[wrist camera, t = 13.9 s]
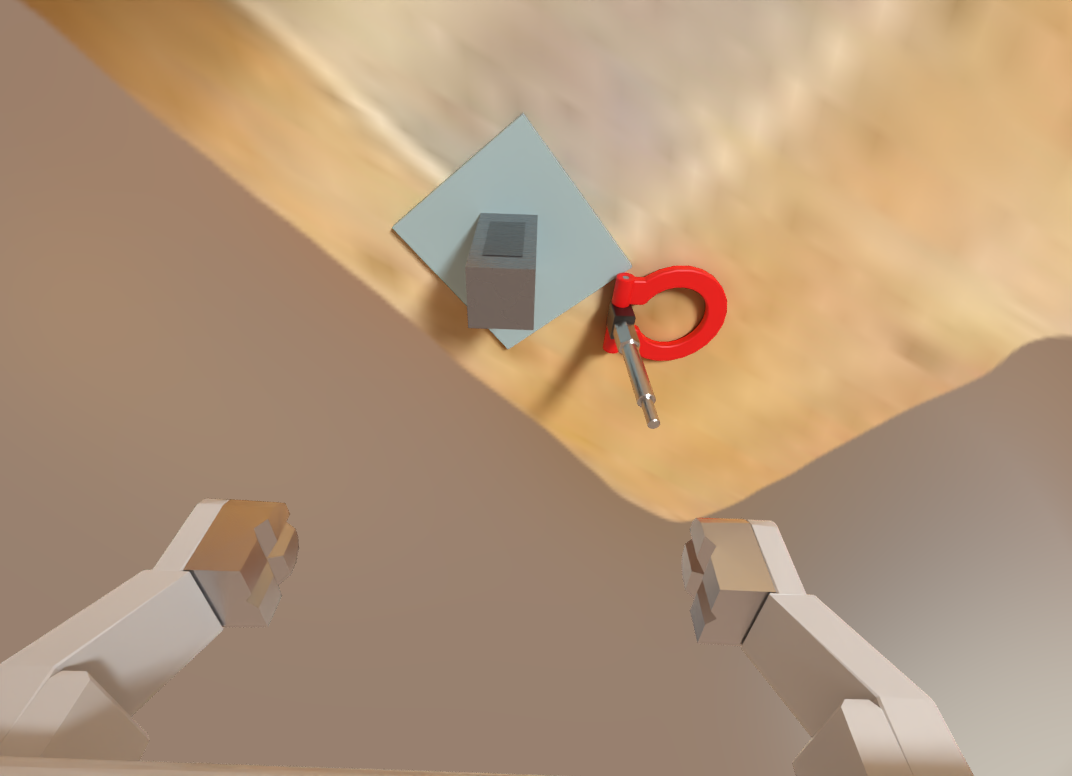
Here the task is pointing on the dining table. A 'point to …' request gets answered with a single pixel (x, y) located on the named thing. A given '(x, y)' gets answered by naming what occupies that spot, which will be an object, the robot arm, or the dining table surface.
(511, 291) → the link block
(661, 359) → the tow hook
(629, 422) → the dining table surface
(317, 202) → the dining table surface
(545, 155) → the pad
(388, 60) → the dining table surface
